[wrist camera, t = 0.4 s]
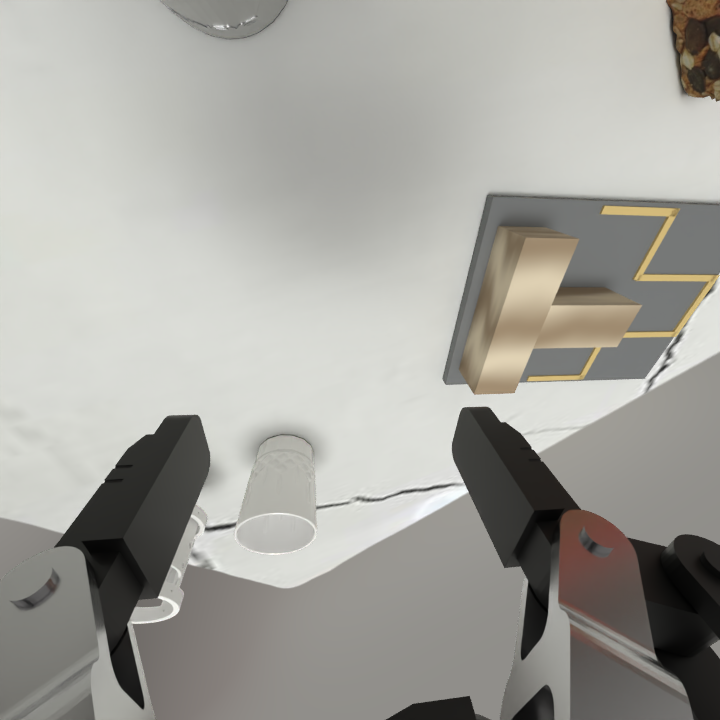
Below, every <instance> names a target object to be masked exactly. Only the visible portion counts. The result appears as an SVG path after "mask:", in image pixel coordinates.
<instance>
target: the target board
mask: <svg viewBox="0 0 720 720" xmlns="http://www.w3.org/2000/svg"><path fill="white" fill-rule="evenodd" d="M498 226H516V227H546V228H549V229H552V230H555V231H558V232H561V233H564V234H566V235H569V236H572V237H575V238H578V239H579V241H578V244H577V246H576V249H575V251H574V253H573V256H572V258H571V260H570V263H569V265H568V267H567V270H566V272H565V275H564V277H563V279H562V282H561V284H560V286H559V287H605V288H607V289H609V290H611V291H614V292H616V293H618V294H620V295H622V296H624V297H626V298H628V299H630V300H632V301H634V302H636V303H639V304H641V305H642V307H641V308H640V310H639V312H638V313H637V315H636V317H635V318H634V320H633V322H632V323H631V325H630V327H629V328H628V330H627V331H626V333H625V335H624V336H623V338H622V340H621V341H620V343H619V345H618V346H617V347H592V348H537V349H533V350H532V352H531V355H530V357H529V360H528V362H527V364H526V367H525V369H524V371H523V374H522V376H521V378H520V381H519V382H552V381H584V380H616V379H645V377H646V376H647V374H648V373H649V372H650V370H651V369H652V367H653V366H654V365H655V363H656V362H657V360H658V359H659V358H660V356H661V355H662V353H663V352H664V350H665V349H666V348H667V346H668V345H669V343H670V342H671V341H672V339H673V338H674V337H676V336H677V334H678V333H679V332H680V330H681V329H682V327H683V326H684V325H685V323H686V322H687V320H688V319H689V318H690V316H691V315H692V313H693V312H694V311H695V309H696V308H697V306H698V305H699V304H700V302H701V301H702V299H703V298H704V297H705V295H706V294H707V292H708V291H709V290H710V288H711V287H712V285H713V284H714V283H715V281H716V280H717V278H718V277H719V276H720V275H718V274H719V273H720V204H697V203H671V202H645V201H619V200H593V199H566V198H540V197H514V196H487V200H486V204H485V208H484V212H483V216H482V220H481V224H480V228H479V232H478V237H477V241H476V245H475V249H474V253H473V257H472V261H471V265H470V269H469V273H468V278H467V282H466V286H465V290H464V294H463V298H462V302H461V306H460V310H459V314H458V318H457V323H456V327H455V331H454V335H453V339H452V343H451V347H450V351H449V355H448V359H447V363H446V368H445V372H444V376H443V381H444V383H445V384H446V385H454V384H467V382H466V380H465V379H464V377H463V376H462V374H461V372H460V371H459V367H460V363H461V359H462V356H463V352H464V348H465V345H466V341H467V337H468V334H469V330H470V327H471V323H472V319H473V316H474V312H475V308H476V305H477V301H478V298H479V294H480V290H481V287H482V283H483V279H484V276H485V272H486V268H487V265H488V261H489V258H490V254H491V250H492V247H493V243H494V239H495V236H496V232H497V228H498Z"/></svg>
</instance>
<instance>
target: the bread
mask: <svg viewBox="0 0 720 720" xmlns="http://www.w3.org/2000/svg"><path fill="white" fill-rule="evenodd" d="M667 3H668V5H669V6H670V8H671V10H672V15H673V32H675V33H676V34H677V39H676V48H677V50H678V52H679V53H680V54H681V57H680V64H681V70H682V75H681V82H682V84H683V87H684V90H685V91H686V92H687V93H688V96H692V97H702V98H704V97H707V96H710V97H711V99H714V98H715V99H716V102H717V101H719V100H720V0H667Z"/></svg>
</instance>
